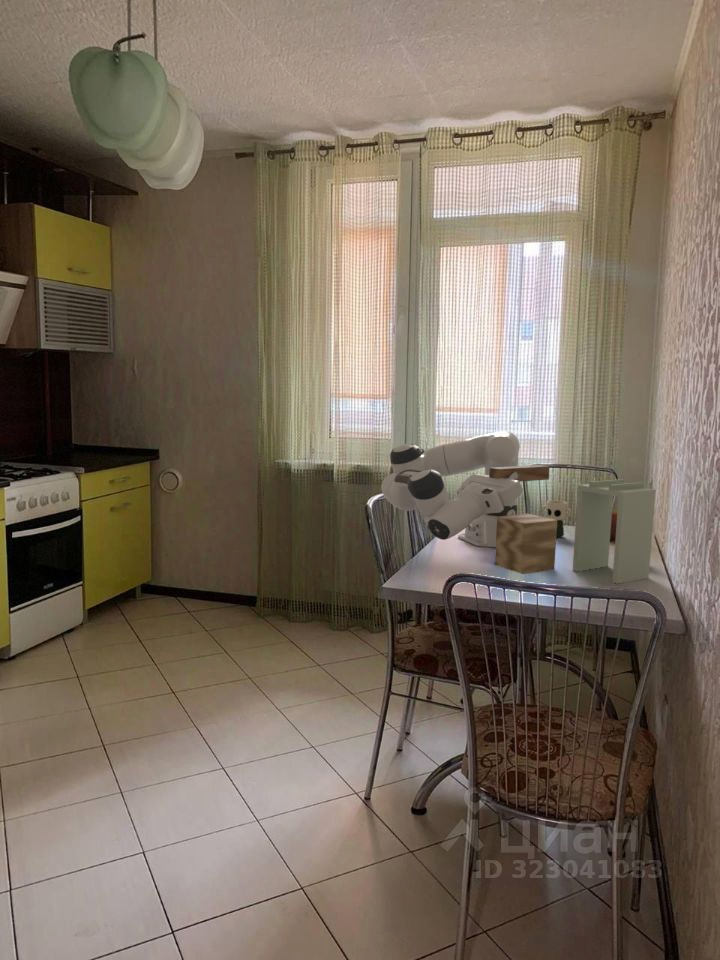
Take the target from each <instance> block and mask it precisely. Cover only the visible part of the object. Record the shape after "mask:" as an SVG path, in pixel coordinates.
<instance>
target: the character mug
mask: <svg viewBox="0 0 720 960" xmlns="http://www.w3.org/2000/svg"><path fill="white" fill-rule="evenodd" d="M567 506H568V502H567V501H564V500H557V499H556V500H555V499H554V500H547V501H546V504H543V505H542V507H541V508H542V509H541V513H542V514H544V515H545V517H546V518H550V519H554V520H557V534H556V538H560V537H563V536H564V535H565V529H564V528H565V527H564V522H563V521H565V519H566V518H570V517H571V516H572V508H571V507H567ZM567 511H568V512H567Z"/></svg>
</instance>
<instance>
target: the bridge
mask: <svg viewBox="0 0 720 960" xmlns="http://www.w3.org/2000/svg"><path fill="white" fill-rule="evenodd" d="M644 485H645V483H644V482H629V483H627V482H625V479H624V478H623V479H621V478H620V479H607V480H594V481H592V480H591V481H589V482H588V483H586V484H577V497H576V499H577V500H576V513H575V515H576V516H575V526H574V527H575V529H574V543H573V544H574V546H573V559H572V571H573V572H575V571H576V572H575V573H578V572H577V571H579V572H583V570H585V571H590V570H589V569H591V570H596V569H595V568H597V569H601V568H600V567H603V568H607V567H606V566H608V567H609V558H610V555H609V554H610V543H611V541H610V531H611V517H612V510H613V500H614V497H617V498H618V502H617V510H618V512H617V526H616V539H615V540H614V541H615V542H614V543H615V544H614V555H613V569H612V580H611V582H612V584H615V583H616V585H618V583H619V584H622V583H623V582H624V583H628V582H635V581H639V580H645V579H649V577H650V565H651V563H650V562H651V553H652V542H653V541H652V538H653V526H654V512H655V503H656V502H655V501H656V490H657V489H653V488H648V487H647V488H646V487H645V486H644Z"/></svg>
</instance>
